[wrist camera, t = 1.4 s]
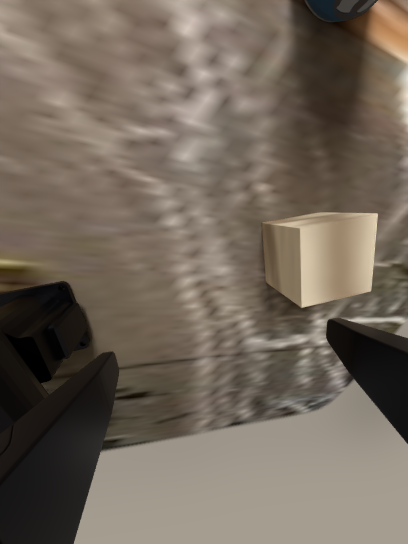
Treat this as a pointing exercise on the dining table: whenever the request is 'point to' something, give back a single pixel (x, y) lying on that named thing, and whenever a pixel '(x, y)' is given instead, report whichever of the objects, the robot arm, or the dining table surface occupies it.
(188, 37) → the dining table surface
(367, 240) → the maple block
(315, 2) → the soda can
